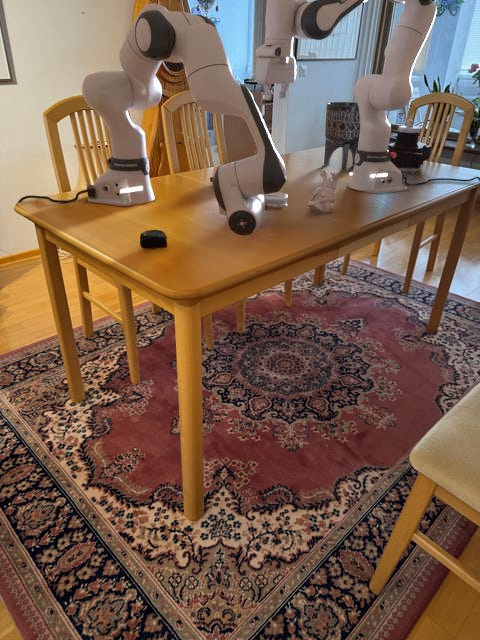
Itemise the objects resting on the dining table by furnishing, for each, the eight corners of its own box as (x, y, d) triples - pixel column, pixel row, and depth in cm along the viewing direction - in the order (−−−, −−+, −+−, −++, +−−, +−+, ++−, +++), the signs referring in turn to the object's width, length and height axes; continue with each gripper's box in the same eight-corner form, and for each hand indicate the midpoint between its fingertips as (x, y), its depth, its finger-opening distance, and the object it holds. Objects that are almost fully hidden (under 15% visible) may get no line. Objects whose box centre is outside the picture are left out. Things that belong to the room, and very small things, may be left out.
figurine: (341, 207, 153) (346, 168, 147) (322, 218, 142) (326, 176, 136) (319, 203, 157) (323, 165, 150) (299, 213, 146) (302, 173, 140)
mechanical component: (377, 119, 195) (405, 114, 215) (369, 169, 206) (397, 160, 225) (427, 124, 183) (452, 118, 203) (415, 177, 194) (441, 167, 213)
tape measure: (140, 252, 115) (139, 238, 113) (141, 242, 120) (140, 229, 119) (167, 251, 116) (166, 237, 114) (167, 241, 121) (166, 228, 120)
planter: (313, 167, 208) (319, 103, 195) (331, 160, 222) (338, 101, 209) (353, 173, 199) (362, 107, 185) (369, 166, 213) (379, 104, 199)
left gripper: (288, 196, 123) (290, 184, 135) (214, 191, 126) (222, 179, 137) (286, 219, 127) (288, 205, 138) (214, 213, 129) (222, 200, 141)
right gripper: (285, 51, 152) (282, 97, 159) (252, 49, 137) (251, 100, 144) (302, 51, 149) (298, 98, 156) (270, 49, 134) (268, 101, 141)
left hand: (255, 192), depth 138 cm, fingers open, 8 cm apart
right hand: (275, 99), depth 150 cm, fingers open, 8 cm apart
